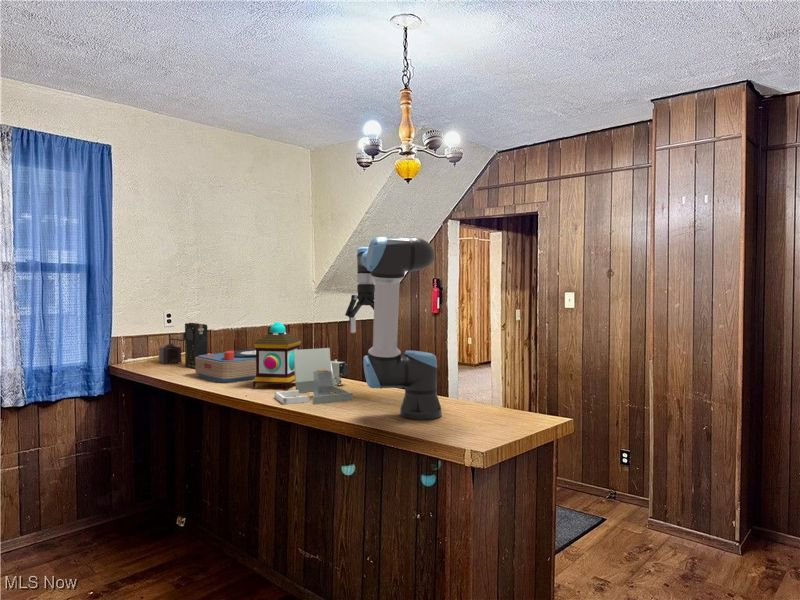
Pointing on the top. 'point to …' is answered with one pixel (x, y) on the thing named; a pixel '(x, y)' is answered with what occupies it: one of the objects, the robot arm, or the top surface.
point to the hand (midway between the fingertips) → (366, 333)
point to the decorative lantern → (276, 357)
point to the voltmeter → (195, 342)
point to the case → (304, 374)
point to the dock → (290, 397)
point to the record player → (227, 366)
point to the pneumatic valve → (339, 371)
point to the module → (322, 382)
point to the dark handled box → (170, 352)
